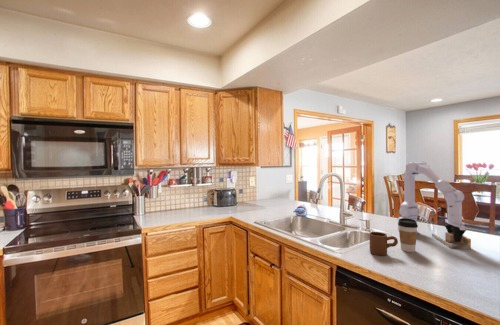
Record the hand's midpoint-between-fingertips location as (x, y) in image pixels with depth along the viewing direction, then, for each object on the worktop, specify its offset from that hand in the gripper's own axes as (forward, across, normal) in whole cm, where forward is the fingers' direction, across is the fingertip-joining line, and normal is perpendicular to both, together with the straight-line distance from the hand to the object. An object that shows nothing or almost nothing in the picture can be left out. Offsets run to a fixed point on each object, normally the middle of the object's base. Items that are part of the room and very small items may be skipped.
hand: (454, 240), depth 125 cm
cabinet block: (+3, 0, 0) cm, 3 cm away
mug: (+3, -20, +38) cm, 43 cm away
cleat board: (+3, +5, -1) cm, 6 cm away
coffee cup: (+3, -12, +25) cm, 28 cm away
